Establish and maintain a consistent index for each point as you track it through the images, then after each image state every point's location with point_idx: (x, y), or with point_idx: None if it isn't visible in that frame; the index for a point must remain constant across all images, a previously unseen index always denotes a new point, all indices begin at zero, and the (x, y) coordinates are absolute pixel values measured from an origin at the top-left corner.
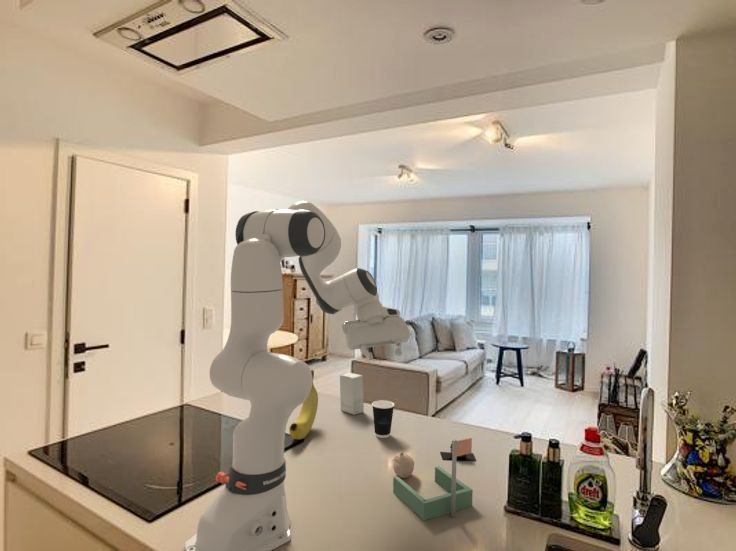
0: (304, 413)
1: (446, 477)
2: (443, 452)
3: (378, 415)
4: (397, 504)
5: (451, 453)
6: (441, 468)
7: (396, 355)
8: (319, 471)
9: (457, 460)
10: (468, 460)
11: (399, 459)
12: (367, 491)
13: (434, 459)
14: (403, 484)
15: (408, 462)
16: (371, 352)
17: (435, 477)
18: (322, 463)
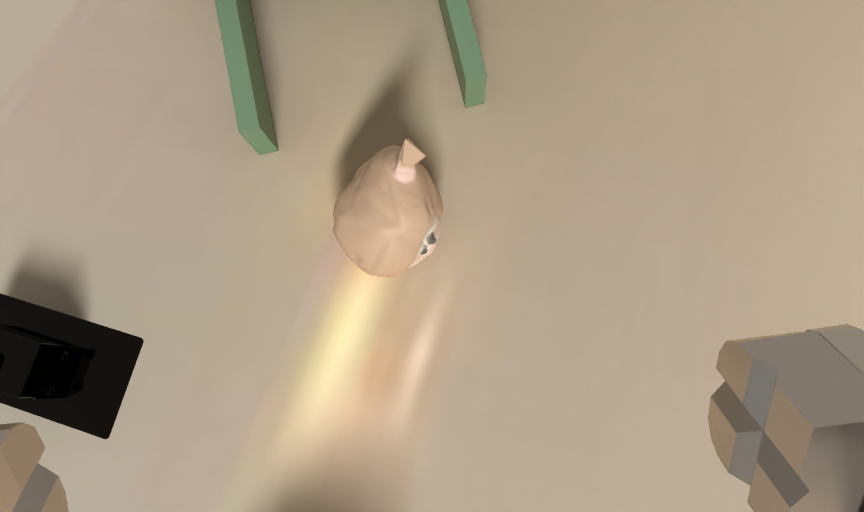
0: None
1: (247, 51)
2: (96, 420)
3: None
4: (493, 20)
5: (72, 365)
6: (236, 108)
7: (61, 509)
8: None
9: (74, 320)
10: (23, 306)
11: (420, 170)
12: (588, 130)
13: (179, 356)
14: (463, 7)
15: (380, 150)
16: (820, 427)
17: (271, 139)
18: None
